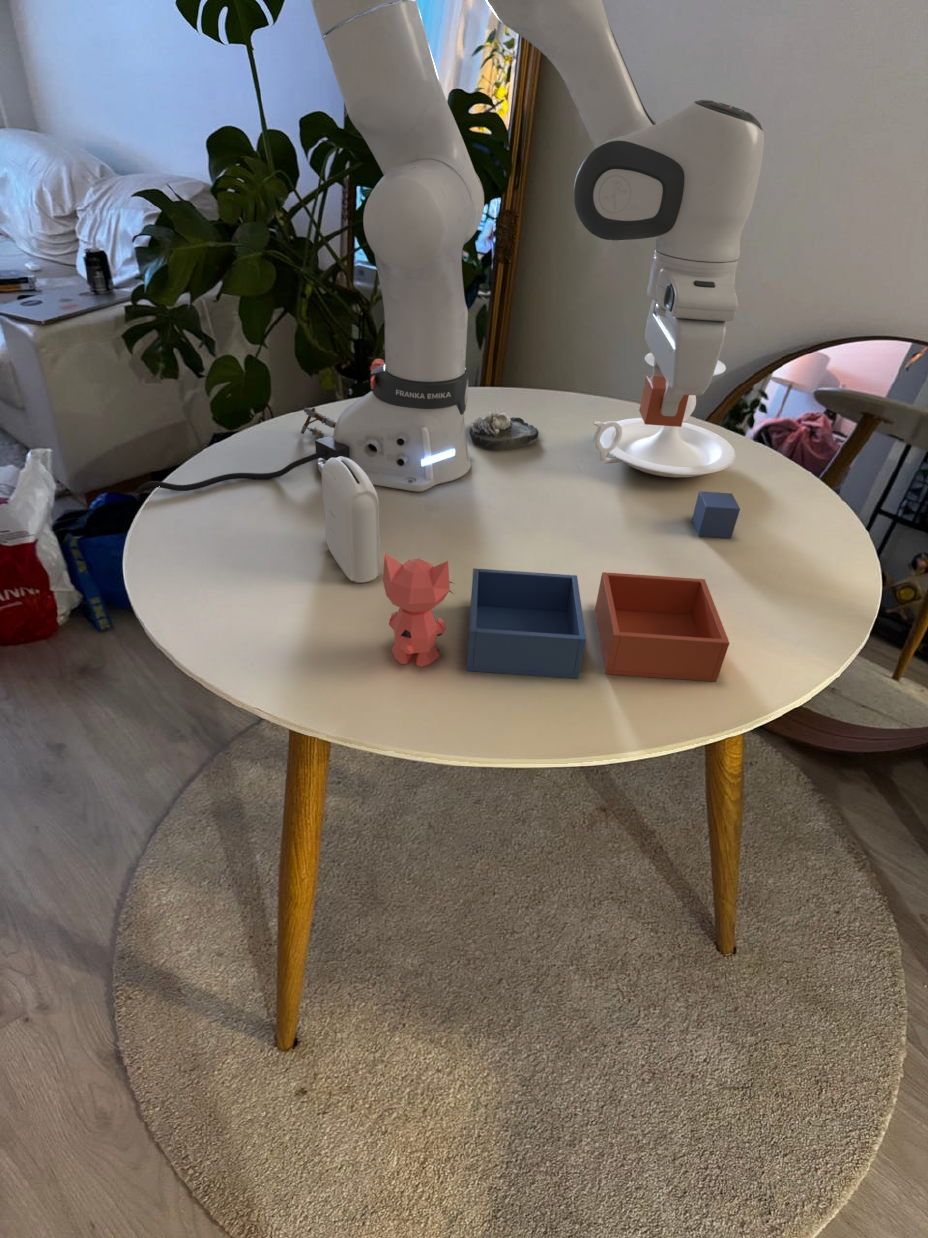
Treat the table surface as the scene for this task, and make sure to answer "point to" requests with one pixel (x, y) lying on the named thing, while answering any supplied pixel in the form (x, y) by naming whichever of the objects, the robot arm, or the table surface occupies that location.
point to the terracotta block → (652, 401)
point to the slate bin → (525, 624)
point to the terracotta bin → (659, 627)
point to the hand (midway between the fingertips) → (662, 404)
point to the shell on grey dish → (502, 432)
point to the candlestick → (665, 444)
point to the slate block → (715, 514)
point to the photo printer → (351, 519)
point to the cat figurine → (415, 607)
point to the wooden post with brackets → (319, 417)
